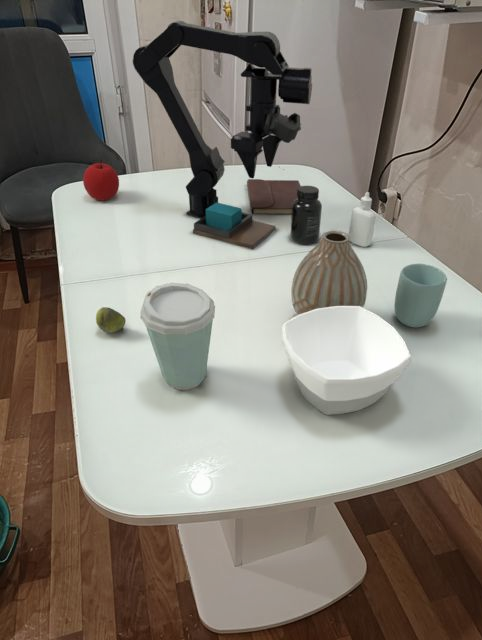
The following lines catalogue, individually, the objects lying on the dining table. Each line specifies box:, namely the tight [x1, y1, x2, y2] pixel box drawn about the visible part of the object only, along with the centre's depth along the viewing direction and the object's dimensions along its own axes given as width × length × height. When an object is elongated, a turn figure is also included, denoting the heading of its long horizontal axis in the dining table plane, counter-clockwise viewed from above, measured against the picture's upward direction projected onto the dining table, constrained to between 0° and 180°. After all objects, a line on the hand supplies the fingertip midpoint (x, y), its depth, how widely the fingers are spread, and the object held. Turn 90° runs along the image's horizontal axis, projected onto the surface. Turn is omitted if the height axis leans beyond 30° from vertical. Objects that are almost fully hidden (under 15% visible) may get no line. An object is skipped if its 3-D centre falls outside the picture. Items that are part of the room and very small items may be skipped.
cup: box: [393, 263, 448, 328], centre depth 92 cm, size 8×8×10 cm
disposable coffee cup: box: [140, 282, 216, 391], centre depth 76 cm, size 11×11×15 cm
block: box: [206, 202, 243, 231], centre depth 122 cm, size 5×7×4 cm
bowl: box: [280, 306, 412, 415], centre depth 78 cm, size 18×18×9 cm
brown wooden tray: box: [192, 211, 277, 250], centre depth 122 cm, size 16×12×2 cm
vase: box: [290, 230, 368, 316], centre depth 88 cm, size 13×13×18 cm
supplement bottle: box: [289, 185, 323, 245], centre depth 117 cm, size 7×7×12 cm
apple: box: [82, 158, 120, 201], centre depth 133 cm, size 9×9×10 cm
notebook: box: [246, 178, 302, 215], centre depth 138 cm, size 15×20×2 cm
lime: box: [95, 306, 127, 333], centre depth 88 cm, size 4×5×5 cm
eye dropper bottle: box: [348, 191, 377, 248], centre depth 116 cm, size 4×6×12 cm
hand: (260, 172), depth 121 cm, fingers open, 9 cm apart
